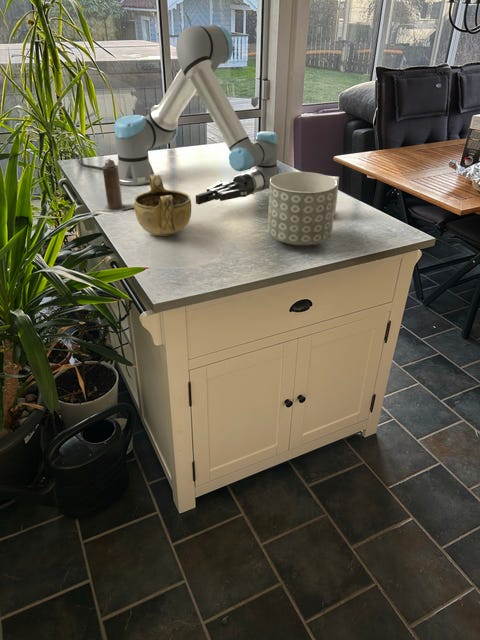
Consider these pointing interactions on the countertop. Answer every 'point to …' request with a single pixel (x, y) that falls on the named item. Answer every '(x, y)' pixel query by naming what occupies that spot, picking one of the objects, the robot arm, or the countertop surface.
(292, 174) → the planter
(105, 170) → the pepper mill
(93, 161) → the countertop surface
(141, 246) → the countertop surface
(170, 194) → the ceramic bowl
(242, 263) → the countertop surface
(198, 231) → the countertop surface
